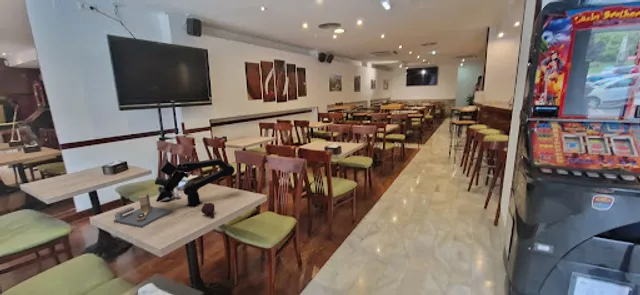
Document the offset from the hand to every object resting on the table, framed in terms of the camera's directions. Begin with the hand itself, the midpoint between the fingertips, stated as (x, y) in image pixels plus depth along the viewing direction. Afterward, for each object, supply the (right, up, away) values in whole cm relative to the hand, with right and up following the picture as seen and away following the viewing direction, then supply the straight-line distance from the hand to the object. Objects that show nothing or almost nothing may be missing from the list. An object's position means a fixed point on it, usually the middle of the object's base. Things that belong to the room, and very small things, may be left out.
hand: (156, 201), depth 153 cm
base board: (-5, -8, -3) cm, 10 cm away
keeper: (-10, -8, -6) cm, 14 cm away
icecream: (+32, -7, -3) cm, 33 cm away
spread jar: (-4, -3, +21) cm, 22 cm away
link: (-4, -7, -4) cm, 9 cm away
